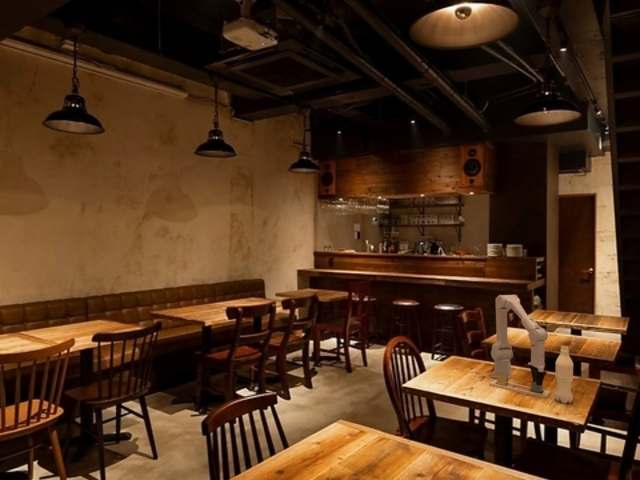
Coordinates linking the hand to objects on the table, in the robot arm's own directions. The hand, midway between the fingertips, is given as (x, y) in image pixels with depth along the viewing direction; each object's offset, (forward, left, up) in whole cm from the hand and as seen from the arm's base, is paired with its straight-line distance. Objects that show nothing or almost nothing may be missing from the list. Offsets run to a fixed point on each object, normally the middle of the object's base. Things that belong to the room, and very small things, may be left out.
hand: (537, 382), depth 216 cm
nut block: (0, 0, -5) cm, 5 cm away
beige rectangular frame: (0, -8, -5) cm, 9 cm away
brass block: (0, -16, -5) cm, 17 cm away
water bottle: (+3, +12, -5) cm, 13 cm away
